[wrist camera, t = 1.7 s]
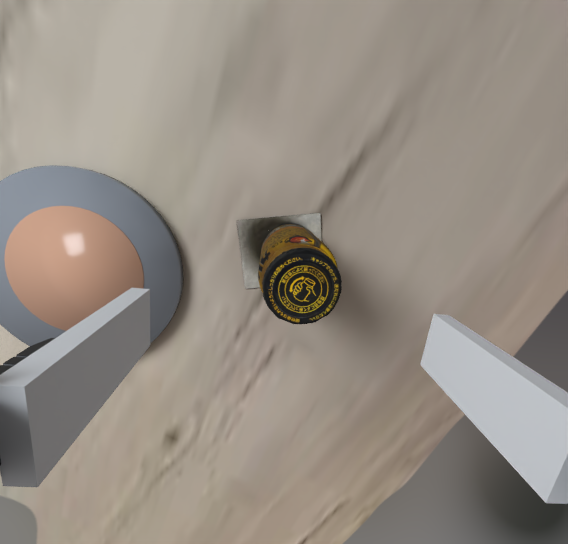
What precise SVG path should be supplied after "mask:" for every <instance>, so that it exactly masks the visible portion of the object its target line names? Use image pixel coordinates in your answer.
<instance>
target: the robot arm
mask: <svg viewBox="0 0 568 544" xmlns="http://www.w3.org/2000/svg"><path fill="white" fill-rule="evenodd" d="M149 346H150V289H142V288H131V289H129V290H128V291H126V292H124V293H123V294H121V295H120V296H118V297H117V298H115V299H114V300H112V301H111V302H109V303H108V304H106V305H105V306H103V307H102V308H100V309H99V310H97V311H96V312H94V313H93V314H91V315H90V316H88V317H87V318H85V319H84V320H82V321H81V322H79V323H78V324H76V325H75V326H73V327H72V328H70V329H69V330H67V331H66V332H64V333H63V334H61V335H60V336H58V337H57V338H50V339H47V340H44V341H42V342H39V343H37V344H34V345H32V346H30V347H28V348H27V349H25V350H24V351H22V352H21V353H19V354H17V356H16V357H13V358H11V359H9V360H8V361H6V362H5V363H3V365H0V471H1V477H2V483H3V486H18V487H38V486H39V485H40V484H41V482H42V481H43V480H44V479H45V477H46V476H47V475H48V474H49V472H50V471H51V470H52V468H53V467H54V466H55V465H56V463H57V462H58V461H59V460H60V458H61V457H62V456H63V455H64V453H65V452H66V451H67V450H68V448H69V447H70V446H71V445H72V443H73V442H74V441H75V440H76V438H77V437H78V436H79V435H80V433H81V432H82V431H83V429H84V428H85V427H86V426H87V424H88V423H89V422H90V421H91V419H92V418H93V417H94V416H95V414H96V413H97V412H98V411H99V409H100V408H101V407H102V406H103V404H104V403H105V402H106V401H107V399H108V398H109V397H110V396H111V394H112V393H113V392H114V391H115V389H116V388H117V387H118V385H119V384H120V383H121V382H122V380H123V379H124V378H125V377H126V375H127V374H128V373H129V372H130V370H131V369H132V368H133V367H134V365H135V364H136V363H137V362H138V360H139V359H140V358H141V357H142V355H143V354H144V353H145V352H146V350H147V349H148V348H149ZM420 365H421V366H422V367H423V368H424V370H425V371H426V372H427V373H428V374H429V375H430V376H431V377H432V378H433V379H434V381H435V382H436V383H437V384H438V385H439V386H440V387H441V388H442V389H443V390H444V392H445V393H446V394H447V395H448V396H449V397H450V398H451V399H452V400H453V401H454V403H455V404H456V405H457V406H458V407H459V408H460V409H461V410H462V411H463V412H464V414H465V415H466V416H467V417H468V418H469V419H470V420H471V421H472V422H473V423H474V424H475V426H476V427H477V428H478V429H479V430H480V431H481V432H482V433H483V434H484V436H485V437H486V438H487V439H488V440H489V441H490V442H491V443H492V444H493V445H494V447H495V448H496V449H497V450H498V451H499V452H500V453H501V454H502V455H503V456H504V458H505V459H506V460H507V461H508V462H509V463H510V464H511V465H512V466H513V467H514V469H515V470H516V471H517V472H518V473H519V474H520V475H521V476H522V477H523V478H524V479H525V481H526V482H527V483H528V484H529V485H530V486H531V487H532V488H533V489H534V491H535V492H536V493H537V494H538V495H539V496H540V497H541V498H542V499H543V500H544V501H545V502H546V503H561V504H568V393H567V392H566V391H564V390H563V389H561V388H560V387H558V386H557V385H555V384H554V383H552V382H550V381H549V380H547V379H546V378H544V377H543V376H541V375H540V374H538V373H537V372H535V371H534V370H532V369H530V368H529V367H527V366H526V365H524V364H523V363H521V362H520V361H518V360H517V359H515V358H514V357H512V356H511V355H509V354H508V353H506V352H504V351H503V350H501V349H500V348H498V347H497V346H495V345H494V344H492V343H491V342H489V341H488V340H486V339H485V338H483V337H481V336H480V335H478V334H477V333H475V332H474V331H472V330H471V329H469V328H468V327H466V326H465V325H463V324H462V323H460V322H458V321H457V320H455V319H454V318H452V317H451V316H449V315H440V314H434V315H433V318H432V322H431V326H430V330H429V334H428V337H427V341H426V345H425V349H424V353H423V357H422V360H421V364H420Z"/></svg>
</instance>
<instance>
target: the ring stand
mask: <svg viewBox="0 0 568 544" xmlns="http://www.w3.org/2000/svg"><path fill="white" fill-rule="evenodd" d="M182 287H183V267H182V261H181V256H180V252H179V249H178V246H177V243H176V241H175V239H174V237H173V235H172V232H171V230H170V229H169V227H168V226H167V224H166V222H165V221H164V219H163V218H162V217H161V216H160V214H159V213H158V212H157V211H156V209H155V208H154V207H153V206H152V205H151V204H150V203H149V202H148V201H147V200H146V199H145V198H144V197H142V196H141V195H140V194H138V193H137V192H136V191H135V190H133V189H132V188H130V187H129V186H127V185H125V184H124V183H122V182H120V181H118V180H116V179H114V178H112V177H109V176H107V175H105V174H102V173H98V172H95V171H92V170H87V169H82V168H76V167H69V166H41V167H34V168H30V169H26V170H22V171H20V172H17V173H15V174H12V175H10V176H8V177H6V178H5V179H3V180H1V181H0V324H1V325H2V326H3V327H4V328H5V329H6V330H7V331H9V332H10V333H11V334H12V335H14V336H15V337H16V338H18V339H19V340H21V341H22V342H24V343H26V344H27V345H29V346H32V345H34V344H37V343H39V342H42V341H44V340H47V339H50V338H57V337H58V336H60V335H61V334H63V333H64V332H66V331H67V330H69V329H70V328H72V327H73V326H75V325H76V324H78V323H79V322H81V321H82V320H84V319H85V318H87V317H88V316H90V315H91V314H93V313H94V312H96V311H97V310H99V309H100V308H102V307H103V306H105V305H106V304H108V303H109V302H111V301H112V300H114V299H115V298H117V297H118V296H120V295H121V294H123V293H124V292H126V291H128V290H129V289H131V288H142V289H150V343H151V342H152V341H153V340H154V339H155V338H157V337H158V336H159V335H160V333H161V332H162V331H163V330H164V328H165V327H166V326H167V325H168V323H169V322H170V320H171V319H172V317H173V315H174V314H175V312H176V309H177V307H178V304H179V302H180V298H181V294H182Z"/></svg>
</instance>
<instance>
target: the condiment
mask: <svg viewBox="0 0 568 544" xmlns="http://www.w3.org/2000/svg"><path fill="white" fill-rule="evenodd" d="M237 228H238V235H239V243H240V251H241V259H242V267H243V275H244V284H245V289H248V288H258V287H260V288H261V291H262V292H263V297H264V300H265V301H266V304H267V306H268V307H269V309H270V310H271V311H272V312H273V313H274V314H275V315H276V316H277V317H278V318H279V319H282V320H285V321H287V322H290V323H292V324H307V323H313V322H316V321H318V320H319V319H321V318H323V317H325V316H327V315H328V314H329V313H330V312H331V311H332V310H333V309H334V307H335V305H336V303H337V301H338V299H339V296H340V293H341V282H342V281H341V276H340V274H339V271H338V269H337V264H336V261H335V258H334V256H333V255H332V253H331V251H330V250H329V249H328V248H327V247H326V245H325V244H324V243H323V242H322V241H321V217H320V213H316V214H304V215H292V216H281V217H270V218H258V219H248V220H237ZM268 230H269V231H268Z"/></svg>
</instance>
